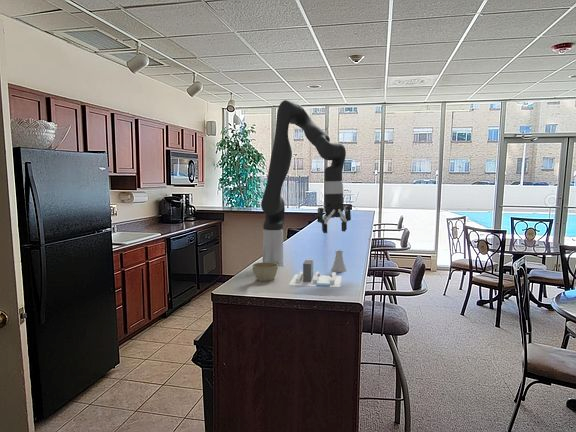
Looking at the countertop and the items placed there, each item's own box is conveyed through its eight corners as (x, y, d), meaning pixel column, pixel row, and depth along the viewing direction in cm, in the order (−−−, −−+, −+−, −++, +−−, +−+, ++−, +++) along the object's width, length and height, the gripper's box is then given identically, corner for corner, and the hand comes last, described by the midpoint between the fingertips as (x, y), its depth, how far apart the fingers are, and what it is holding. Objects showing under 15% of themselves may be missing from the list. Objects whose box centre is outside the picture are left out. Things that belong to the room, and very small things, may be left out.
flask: (336, 276, 165) (336, 253, 164) (327, 272, 171) (327, 250, 170) (350, 274, 168) (351, 251, 167) (340, 271, 174) (341, 248, 173)
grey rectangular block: (303, 281, 151) (303, 263, 150) (306, 275, 160) (306, 258, 159) (310, 282, 150) (310, 264, 150) (313, 276, 159) (313, 259, 158)
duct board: (288, 288, 147) (288, 279, 146) (295, 277, 163) (295, 269, 162) (340, 291, 144) (340, 281, 143) (341, 279, 159) (341, 271, 159)
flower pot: (268, 287, 149) (268, 268, 148) (247, 283, 154) (247, 265, 153) (282, 281, 157) (282, 263, 156) (262, 278, 162) (262, 261, 162)
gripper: (344, 191, 166) (344, 229, 167) (313, 193, 160) (314, 232, 162) (353, 192, 159) (354, 231, 160) (322, 193, 154) (323, 234, 155)
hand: (334, 232), depth 161 cm, fingers open, 8 cm apart
